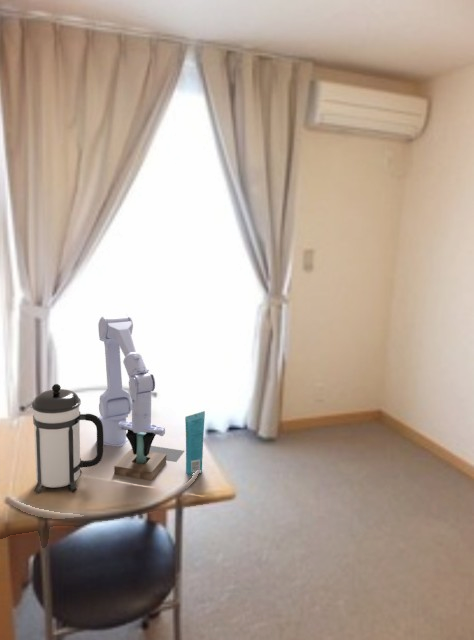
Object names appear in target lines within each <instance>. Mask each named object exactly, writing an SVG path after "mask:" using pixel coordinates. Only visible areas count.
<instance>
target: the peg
mask: <svg viewBox="0 0 474 640" xmlns="http://www.w3.org/2000/svg"><path fill="white" fill-rule="evenodd" d="M145 434H146V433H144V432H140V433H137V448H136V463H139V464H144V463H146V456H144V440H143V436H144V435H145Z"/></svg>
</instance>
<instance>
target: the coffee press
mask: <svg viewBox="0 0 474 640" xmlns="http://www.w3.org/2000/svg"><path fill="white" fill-rule="evenodd" d="M61 387H62V386H61V385H60V384H58V383H55V384H53V385H52V386H51V389H49V390H45V391H42V392H40V393H39V394H37V396H35V397H34V400H33V401H32V402H31V406H30V407H29V409H28V410H27V412H28V413H32V414H33V415H32V421H33V425H34V448H35V449H34V451H35V453H34V454H35V474H36V477H35V478H36V481H37V483H36V485H35V486H34V489H33V491H34V492H35V493H36V494H41V492H42V491H43V490H44V488H46V487H47V488H52V489H53V488H55V489H56V488H61V487H62V488H63V487H68V489H69V492H71V493H73V492H75V491H77V490H78V487H77V485H76V481H77V480H78V479H79V477H80V475H81V474H82V470H81V469H82V468H83V469H84V468H92V467H94V466H97V465H98V464H99V463H100V462H101V461H102V458H103V455H104V445H103V425H102V422H101V420H100V419H99V417H98V416H97V415H95V414H92V413H83V414H82V413H81V411H80V405H81V404H82V403H81V398H80V397H79V396H78V394H77V393H76V392H75V391H72V390H69V389H66V388H65V389H64V388H61ZM80 421H89V422H91V423H93V424H94V426H95V427H96V441H97V444H96V455H95V457H94V458H92V459H87V460H82V458H81V440H80V439H81V434H80V431H81V430H80V427H81V426H80V425H81V424H80Z"/></svg>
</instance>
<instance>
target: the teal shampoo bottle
mask: <svg viewBox="0 0 474 640" xmlns="http://www.w3.org/2000/svg"><path fill="white" fill-rule="evenodd" d="M205 415H206V412H205V410H203V411H200V412H198V413H194V414H190V415H189V414H188V415H187V416H185V473H186V474H187V475H190V476H193V475H192V474H193V473H195V472H196V471H197V470H201V474H202V472H203V457H204V456H203V454H204V449H203V448H204V436H205V435H204V433H205V431H204V429H205V420H206V419H205Z"/></svg>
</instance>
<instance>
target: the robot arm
mask: <svg viewBox="0 0 474 640" xmlns="http://www.w3.org/2000/svg"><path fill="white" fill-rule="evenodd" d="M97 325H98V328H97V329H98V338H99V341H101V342H103V343H104V354H105V366H106V367H105V371H106V385H107V388H106V390H105V391H103V393H102V394H101V395H100V396H99V404H98V411H99V417H98V418H99V419H100V420H101V422H102V425H103V446H112V447H117V448H122V447H123V446H124V445H125V444H126V443H127V442H129V444H130V446H131V449H132V450H133V454H135V455H136V448H137V433H140V432H144V433H146V434H145V435H144V436H143V440H144V456H147V455H148V454H149V451H150V447H151V446H152V443H153V442H154V439H155V436H156V435H158V436H159V437H163V436H165V434H166V427H163V426H159V425H156V424H153V423H152V392H154V391H155V389H156V381H155V377H154V374H153V373H152V372H151V370H150V369H147V367H146V364H145V362H144V359H143V357H142V355H141V354H140V353H138V352H137V351H136V347H135V345H134V340H133V338H132V335H133V334H132V333H133V329H134V323H133V319H132V317H131V316H130V315H129V314H127V315H117V316H101V317H100V319H99V321H98V324H97ZM121 351H122V354H123V355H124V359H123V361H122V362H123V365H124V368H125V370H126V372H127V376H128V378H129V379H128V387H129V392H128V391H127V390H126V389H123V382H122V381H123V379H122V365H121V364H122V362H121ZM130 414H131V421H127V418H129V415H130ZM95 444H96V445H97V440H96V441H95Z"/></svg>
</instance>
